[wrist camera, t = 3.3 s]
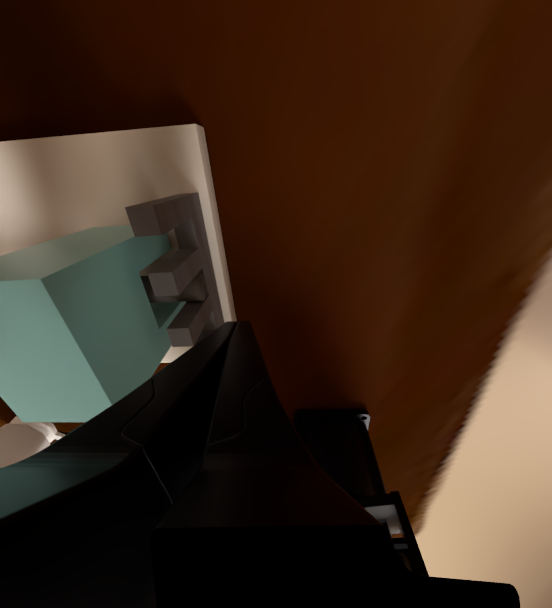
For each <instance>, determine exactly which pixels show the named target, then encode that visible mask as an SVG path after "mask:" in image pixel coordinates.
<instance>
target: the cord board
mask: <svg viewBox="0 0 552 608" xmlns="http://www.w3.org/2000/svg"><path fill="white" fill-rule="evenodd" d="M123 225H131V227H132V230H133V233H134V236H135V237H142V236H159V235H163V234H165V233H167V235H168V239H169V242H170V246H171V250H169V251H168V252H167V253H165V254H164V255H162V256H161V257H160V258H158V259H157V260H155V261H154V262H152V263H151V264H150V265H148V266H147V267H145V268H144V269H143V270H141V271H140V272H139V274H140V277H141V280H142V283H143V285H144V288H145V291H146V294H147V297H148V299H149V302H150V303H160V302H185V301H186V303H185V305H184V306H183V307H182V309H181V310H180V311H179V313H178V314H177V315H176V317H175V318H174V319H173V321H172V322H171V323H170V325H169V326H168V327H167V329H166V330H167V333H168V336H169V339H170V341H171V344H172V346H171V347H170V349H169V350H168V352H167V353H166V355H165V356H164V358H163V359H162V361H161V362H160V363H170V362H173V361H174V360H175V359H177V358H178V357H179V356H181V355H182V354H183V353H185V352H186V351H187V350H189V349H190V348H191V347H193V346H194V345H196V344H197V343H198V342H200V341H201V340H202V339H204V338H205V337H206V336H208V335H209V334H210V333H212V332H213V331H214V330H216V329H217V328H218V327H220V326H221V325H222V324H224V323H225V322H227V321H237V320H236V314H235V308H234V302H233V296H232V291H231V285H230V279H229V273H228V267H227V261H226V256H225V250H224V244H223V238H222V232H221V226H220V220H219V215H218V209H217V203H216V197H215V191H214V185H213V180H212V174H211V168H210V162H209V156H208V150H207V145H206V139H205V133H204V127H201V126H199V125H197V124H188V125H177V126H166V127H155V128H144V129H133V130H122V131H111V132H100V133H89V134H79V135H68V136H57V137H46V138H35V139H24V140H13V141H2V142H0V256H1V255H5V254H8V253H11V252H14V251H18V250H21V249H24V248H27V247H30V246H34V245H37V244H40V243H43V242H47V241H50V240H53V239H56V238H60V237H63V236H66V235H69V234H72V233H76V232H79V231H82V230H85V229H89V228H92V227H108V226H123Z"/></svg>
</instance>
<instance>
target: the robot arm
mask: <svg viewBox="0 0 552 608" xmlns="http://www.w3.org/2000/svg"><path fill="white" fill-rule="evenodd" d="M369 421H370V416H369V413H368V411H366V410H330V411H296V412H295V413H294V425H293V423H292V422H291V420H290V418H289V416H288V415H287V413H286V411H285V409H284V407H283V405H282V403H281V402H280V400H279V398H278V395H277V393H276V391H275V388H274V386H273V383H272V380H271V378H270V375H269V372H268V370H267V367H266V364H265V361H264V359H263V356H262V353H261V350H260V347H259V345H258V342H257V339H256V336H255V334H254V331H253V328H252V325H251V323H250V321H239V322H237V321H227V322H225V323H224V324H222V325H221V326H220V327H218V328H217V329H216V330H214V331H213V332H212V333H210V334H209V335H208V336H206V337H205V338H204V339H202V340H201V341H200V342H198V343H197V344H196V345H194V346H193V347H191V348H190V349H189V350H187V351H186V352H185V353H183V354H182V355H181V356H179V357H178V358H177V359H175V360H174V361H173V362H171V363H170V364H169V365H167V366H166V367H164V368H163V369H162V370H160V371H159V372H158V373H156V374H155V375H154V376H153V377H152V378H150V379H148V380H147V381H146V382H144V383H143V384H141V385H140V386H139V387H137V388H136V389H135V390H133V391H132V392H130V393H129V394H128V395H126V396H125V397H123V398H122V399H120V400H119V401H117V402H116V403H114V404H113V405H111V406H110V407H108V408H107V409H105V410H104V411H102V412H101V413H99V414H98V415H96V416H95V417H93V418H91V419H90V420H88V421H87V422H85V423H84V424H82V425H81V426H79V427H77V428H76V429H74V430H73V431H71V432H70V433H68V434H67V435H65V436H64V437H62V438H60V439H59V440H57V441H56V442H54V443H53V444H51V445H50V446H48V447H46V448H45V449H43V450H41V451H40V452H38V453H36V454H34V455H32V456H30V457H28V458H26V459H24V460H21V461H19V462H17V463H14V464H11V465H8V466H6V467H3V468H0V608H520V601H519V595H518V593H517V591H516V589H515V587H514V586H513V585H511V584H505V583H495V582H483V581H471V580H461V579H450V578H438V577H429V575H428V572H427V570H426V567H425V564H424V561H423V559H422V556H421V553H420V550H419V547H418V544H417V542H416V539H415V536H414V533H413V530H412V528H411V525H410V522H409V519H408V516H407V514H406V511H405V508H404V505H403V503H402V500H401V497H400V494H399V491H392V492H390V494H387V493H386V490H385V487H384V483H383V480H382V477H381V473H380V470H379V467H378V464H377V460H376V457H375V454H374V450H373V447H372V444H371V440H370V437H369V434H368V427H369ZM396 533H402V536H403V538H392V536H391V534H396Z"/></svg>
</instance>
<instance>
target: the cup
mask: <svg viewBox="0 0 552 608" xmlns="http://www.w3.org/2000/svg"><path fill="white" fill-rule="evenodd" d="M64 436H65V434H63V433H60V432H58V431H57V429H56V428H55V426H54V424H53V423H51V422H22V421H21V420H20V418H19V417H18V416H16V417H15V418H14V419H13V420H12V421H11V422H10V423H9V424H5V425H4V426H2V427H0V468H3V467H6V466H8V465H11V464H14V463H17V462H19V461H21V460H24V459H26V458H28V457H30V456H32V455H34V454H36V453H38V452H40V451H41V450H43V449H45V448H46V447H48V446H50V442H51V441H53V440H54V439H57V440H59V439H60V438H62V437H64Z"/></svg>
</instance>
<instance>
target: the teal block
mask: <svg viewBox="0 0 552 608" xmlns="http://www.w3.org/2000/svg"><path fill="white" fill-rule="evenodd" d="M169 250H171V246H170V242H169V239H168V235H167V233H165V234H163V235H159V236H142V237H135V236H134V233H133V230H132V227H131V225H123V226H108V227H92V228H89V229H85V230H82V231H79V232H76V233H72V234H69V235H66V236H63V237H60V238H56V239H53V240H50V241H47V242H43V243H40V244H37V245H34V246H30V247H27V248H24V249H21V250H18V251H14V252H11V253H8V254H5V255H1V256H0V397H1V398H2V399H3V400H4V401H5V402H6V404H7V405H8V406H9V407H10V408H11V409H12V410H13V412H14V413H15V414H16V415H17V416H18V417H19V418H20V420H21V421H22V422H87V421H88V420H90V419H91V418H93V417H95V416H96V415H98V414H99V413H101V412H102V411H104V410H105V409H107V408H108V407H110V406H111V405H113V404H114V403H116V402H117V401H119V400H120V399H122V398H123V397H125V396H126V395H128V394H129V393H130V392H132V391H133V390H135V389H136V388H137V387H139V386H140V385H141V384H143V383H144V382H146V381H147V380H148V379H150V378H151V376H152V375H153V373H154V372H155V370H156V369H157V367H158V365H159V364H160V362H161V361H162V359H163V358H164V356H165V355H166V353H167V352H168V350H169V349H170V347H171V346H172V344H171V341H170V339H169V336H168V333H167V330H166V329H167V327H168V326H169V325H170V323H171V322H172V321H173V319H174V318H175V317H176V315H177V314H178V313H179V311H180V310H181V309H182V307H183V306H184V305H185V303H186V301H185V302H160V303H150V302H149V299H148V297H147V294H146V291H145V288H144V285H143V283H142V280H141V277H140V274H139V272H140V271H141V270H143V269H144V268H145V267H147V266H148V265H150V264H151V263H152V262H154V261H155V260H157V259H158V258H160V257H161V256H162V255H164V254H165V253H167V252H168V251H169Z"/></svg>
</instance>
